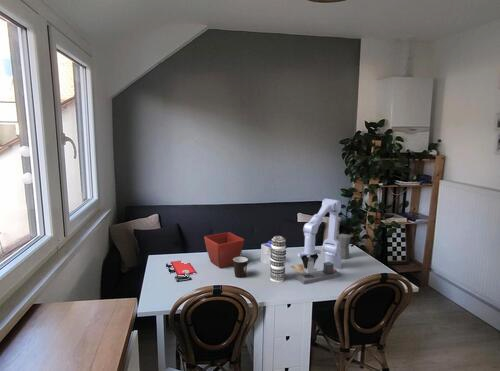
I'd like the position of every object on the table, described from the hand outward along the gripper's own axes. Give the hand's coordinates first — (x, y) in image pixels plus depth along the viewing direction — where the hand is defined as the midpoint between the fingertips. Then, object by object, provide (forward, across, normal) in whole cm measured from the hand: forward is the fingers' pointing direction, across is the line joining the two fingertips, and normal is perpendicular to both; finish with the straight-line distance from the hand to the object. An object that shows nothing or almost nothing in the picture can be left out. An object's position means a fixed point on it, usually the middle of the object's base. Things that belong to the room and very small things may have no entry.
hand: (308, 267), depth 193 cm
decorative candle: (+8, +15, -9) cm, 19 cm away
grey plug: (+2, 0, 0) cm, 3 cm away
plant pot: (+8, +34, -44) cm, 56 cm away
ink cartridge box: (+8, +8, -32) cm, 34 cm away
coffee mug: (+8, +31, -22) cm, 39 cm away
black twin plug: (+8, -14, 0) cm, 16 cm away
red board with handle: (+9, +62, -43) cm, 76 cm away
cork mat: (+8, -7, -15) cm, 18 cm away
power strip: (+8, -7, 0) cm, 11 cm away
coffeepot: (+8, -45, -21) cm, 50 cm away
